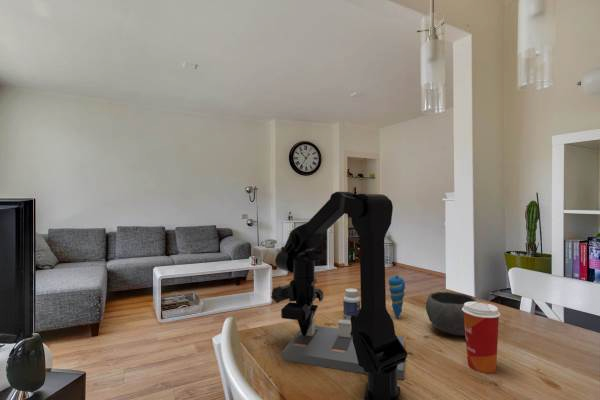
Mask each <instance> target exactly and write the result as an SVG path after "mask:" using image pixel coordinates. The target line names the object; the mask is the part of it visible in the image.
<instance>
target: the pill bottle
mask: <svg viewBox="0 0 600 400" xmlns="http://www.w3.org/2000/svg"><path fill="white" fill-rule="evenodd" d="M344 294H345V295H344V297H343V301H342V303H343V320H348V321H351V315H354V314H357V313H359V311H360V308H361V297H359V296H358V295H359V293H358V289H356V288H346V289H345V293H344Z"/></svg>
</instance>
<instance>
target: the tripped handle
mask: <svg viewBox="0 0 600 400" xmlns="http://www.w3.org/2000/svg"><path fill="white" fill-rule="evenodd" d="M315 321H316V320H315V319H313V320H312V322H311V325H310V327H309V330H308V332H307V334H306V336H313V334H314V333H315V326H316V324H315ZM301 335H302V333H301Z"/></svg>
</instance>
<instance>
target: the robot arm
mask: <svg viewBox="0 0 600 400" xmlns="http://www.w3.org/2000/svg"><path fill="white" fill-rule="evenodd" d="M393 206H394V205H393V203H392V200H391V199H390V198H389V196H387V195H386V194H379V193H359V194H358V193H353V192H350V191H334V192H333V193H332V194H331V195H330V198H329V199H328V200H327V201H326V202H325V203H324V205H322V207H321V208H320V209H318V211H317V212H316V213H315V214H314V215H313V216H312V217H311V218H310V219H309V220H308V221H307V222H306V223H303V224H300V225H299V226H296V227H295V228H294V229H292V230H291V231H290V233H289V234H288V238H287V240H286V243H285V245H284V246H281V248H280V251H279V252H278V253H277V254H276V257H275V259H274V262H275V266H276V267H277V269H279V270H283V271H284V272H288V273H291V274H292V277H293V278H292V279H291V280H290V282H289V284H286V285H283V286H280V285H279V286H276V287H273V288H272V291H271V299H272V300H273V301H274V302H275V303H276V304H278V303H280V302H283V301H286V300H288V301H289V302H288V303H287V304H285V305H284V306H283V307H282V308H281V310H280V316H281V318H282V319H285V320H294V321H297V323H298V326H299V327H298V328H299V331H300V330H301V333H302V335H306V334H307V332H308V330H309V327H310V325H311V322H312V320H314V318H315V314H316V312H317V309H318V308H319V306H318V305H317V304H314V301H315V300H316V299H318V301H319V302H322V301H323V300H324V291H322V289H321V288H316V286H315V284H316V283H318V282H317V278H315V277H316V275H315V262H317V261H320V257H319V255H318V254H316V252H315V251H314V250H315V249H317V247H318V246H319V245H320V244H321V242H323V241H322V240H323V235H324V234H325V233H326V232H327V231H328V230H329V229H330V228H331V227H332V226H333V225H334V224H335V223H336V222H337V221H339V219H341V218H342V216H344V215H349V216H350V217H351V218H350V219H351V225H352V227H353V229H354V230H355V232H356V234H357V235H358V237H359V239H358V240H359V266H360V267H359V268H360V270H359V271H360V272H359V275H360V277H359V278H360V311H359V313H357V314H354V315H351V333H350V335H351V336H352V335H353V344H354V347H355V351H356V356H357V360H358V364H359V366H361V367H362V368H363V369H364V371H365V372H367V374H366V375H367V382H366V387H365V391H364V396H363V400H401V387H400V385H398V384H399V383H398V379H397V365H398V364H400V363H404V364H405V362H406V361H407V358H408V352H407V350H406V349H405V346H404V347H403V345H402V344H401V342H400V341H399V339H398V338H397V336H398V335H397V334H396V330H395V323H394V320H393V317H391V315H390V313H389V311H388V309H387V302H386V301H387V300H386V299H387V298H386V296H387V295H386V256H385V255H386V254H385V252H386V251H385V238H386V235H387V233H388V231H389V229H390V226H391V224H392V218H393V209H394V207H393ZM312 250H313V251H312Z"/></svg>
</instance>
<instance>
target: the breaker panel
mask: <svg viewBox="0 0 600 400" xmlns="http://www.w3.org/2000/svg"><path fill="white" fill-rule="evenodd" d="M396 336H397V338H398V339H399V341H400V342H401V344H402V345H403V347H404V348H405V345H404V344H405V343H404V336H403V335H396ZM281 352H282V356H281V357H282V358H281V359H282V361H287V362H293V363H298V364H305V365H310V366H317V367H323V368H330V369H335V370H342V371H347V372H353V373H359V374H366V375H367V372H365V371H364V369H363V368H362V367H361V366H359V364H358V360H357V356H356V351H355V347H354V344H353V335H352V336H351V338H348V337H340V336H339V327H330V326H322V325H315V333H314V334H313V336H306V335H301V330H300V329H299V331H297V333H296V335H294V337H293V338H292V339H291V340H290V342H288V344H287V345H286V347H285V348H284V349H283V350H282V351H281ZM404 369H405V362H404V363H400V364H398V365H397V380H400V381H404V380H405V370H404Z"/></svg>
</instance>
